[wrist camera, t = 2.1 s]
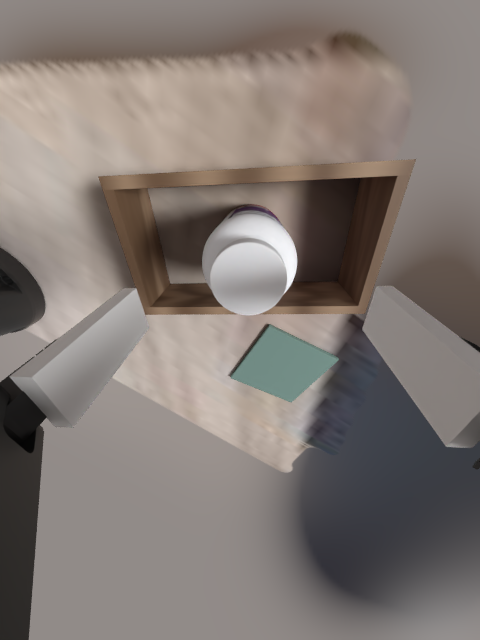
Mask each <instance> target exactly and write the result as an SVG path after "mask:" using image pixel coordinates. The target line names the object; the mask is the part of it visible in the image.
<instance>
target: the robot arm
mask: <svg viewBox="0 0 480 640" xmlns="http://www.w3.org/2000/svg"><path fill="white" fill-rule="evenodd" d="M44 312H45V300H44V296H43V293H42V291H41V289H40V287H39V285H38V284H37V282H36V281H35V279H34V278H33V276H32V275H31V274H30V273H29V272H28V271H27V269H26V268H25V267H24V266H23V265H22V264H21V263H19V262H18V261H17V260H16V259H15V258H14V257H12V256H11V255H10V254H8V253H7V252H5V251H4V250H2V249H1V248H0V336H1V335H4V334H7V333H12V332H17V331H21V330H23V329H26V328H28V327H29V326H31V325H32V324H34V323H36V322H37V321H39V320H40V319H41V318H42V316H43V314H44ZM148 329H149V325H148V322H147V319H146V316H145V313H144V310H143V307H142V304H141V301H140V298H139V295H138V292H137V289H136V288H123V289H122V290H121V291H119V292H118V293H117V294H115V295H114V296H113V297H112V298H110V299H109V300H108V301H106V302H105V303H104V304H102V305H101V306H100V307H99V308H97V309H96V310H95V311H93V312H92V313H91V314H90V315H88V316H87V317H86V318H84V319H83V320H82V321H81V322H79V323H78V324H77V325H75V326H74V327H73V328H71V329H70V330H69V331H68V332H66V333H65V334H64V335H62V336H61V337H60V338H58V339H56V340H55V341H53V342H52V343H51V344H49V345H48V346H47V347H46V348H45V349H44V350H42V351H40V352H39V353H38V354H36V356H35V357H32V358H31V359H30V360H29V361H27V362H26V363H25V364H23V365H22V366H21V367H19V368H18V369H17V370H16V371H14V372H13V373H12V374H10V375H9V376H8V377H6V378H5V379H4V380H2V381H1V382H0V640H28V639H29V627H30V612H31V599H32V586H33V571H34V559H35V545H36V532H37V518H38V505H39V491H40V477H41V464H42V450H43V436H44V431H43V428H42V427H41V426H40V424H41V423H42V422H43V421H44V419H45V418H46V417H47V419H49V421H50V422H51V423H52V424H53V425H54V426H55V427H71V428H74V426H75V425H76V424H77V422H78V421H79V420H80V419H81V417H82V416H83V415H84V413H85V412H86V411H87V409H88V408H89V406H90V405H91V404H92V402H93V401H94V400H95V399H96V397H97V396H98V395H99V393H100V392H101V391H102V389H103V388H104V387H105V385H106V384H107V383H108V381H109V380H110V379H111V378H112V376H113V375H114V374H115V372H116V371H117V370H118V368H119V367H120V366H121V364H122V363H123V362H124V360H125V359H126V358H127V356H128V355H129V354H130V353H131V351H132V350H133V349H134V347H135V346H136V345H137V343H138V342H139V341H140V339H141V338H142V337H143V335H144V334H145V333H146V331H147V330H148ZM362 330H363V331H364V332H365V334H366V335H367V337H368V338H369V339H370V341H371V342H372V344H373V345H374V346H375V348H376V349H377V351H378V352H379V353H380V355H381V356H382V358H383V359H384V360H385V362H386V363H387V364H388V366H389V367H390V369H391V370H392V372H393V373H394V374H395V375H396V377H397V379H398V380H399V381H400V383H401V384H402V386H403V387H404V388H405V390H406V391H407V392H408V394H409V395H410V397H411V398H412V399H413V401H414V402H415V404H416V405H417V406H418V408H419V409H420V411H421V412H422V413H423V415H424V416H425V418H426V419H427V420H428V422H429V423H430V425H431V426H432V427H433V429H434V430H435V432H436V433H437V434H438V436H439V437H440V438H441V440H442V441H443V443H444V444H445V446H446V447H463V448H464V447H465V448H472V447H473V446H474V445H476V444H477V443H478V442H479V441H480V347H478V346H477V345H475V344H474V343H472V342H469V341H467V340H465V339H463V338H461V337H459V336H457V335H456V334H455V333H453V332H452V331H451V330H449V329H448V328H447V327H445V326H444V325H443V324H441V323H440V322H439V321H438V320H436V319H435V318H434V317H432V316H431V315H430V314H428V313H427V312H426V311H424V310H423V309H422V308H420V307H419V306H418V305H416V304H415V303H414V302H413V301H411V300H410V299H408V298H407V297H406V296H405V295H403V294H402V293H401V292H399V291H398V290H397V289H395V288H394V287H393V286H377V287H376V290H375V293H374V296H373V299H372V302H371V305H370V308H369V311H368V314H367V317H366V320H365V323H364V326H363V329H362ZM473 468H475V469H479V468H480V458H479V459H478V460H477V461H476V462H475V463H474V465H473Z"/></svg>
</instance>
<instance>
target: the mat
mask: <svg viewBox="0 0 480 640" xmlns="http://www.w3.org/2000/svg"><path fill="white" fill-rule="evenodd" d="M338 360H339V359H338V357H336V356H334V355H332V354H330V353H328V352H326V351H324V350H322V349H320V348H318V347H316V346H314V345H312V344H309V343H307V342H305V341H303V340H301V339H299V338H297V337H295V336H293V335H291V334H289V333H287V332H285V331H283V330H281V329H278V328H276V327H274V326H272V325H270V324H269V325H268V327H267V328H266V329H265V331H264V332H263V333H262V335H261V336H260V337H259V339H258V340H257V341H256V343H255V344H254V345H253V347H252V348H251V349H250V351H249V352H248V353H247V355H246V356H245V357H244V359H243V360H242V362H241V363H240V364H239V366H238V367H237V368H236V370H235V371H234V372H233V374H232V375H231V378H232V379H234V380H237V381H239V382H242V383H244V384H247V385H249V386H252V387H254V388H257V389H259V390H262V391H264V392H267V393H269V394H272V395H274V396H277V397H279V398H281V399H284V400H286V401H289V402H292V401H293V400H295V399H296V398H297V397H298V396H299V395H300V394H301V393H302V392H303V391H305V390H306V389H307V388H308V387H309V386H310V385H311V384H312V383H313V382H315V381H316V380H317V379H318V378H319V377H320V376H321V375H322V374H323V373H325V372H326V371H327V370H328V369H329V368H330V367H331V366H332V365H333V364H335V363H336V362H337V361H338Z"/></svg>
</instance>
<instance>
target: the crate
mask: <svg viewBox="0 0 480 640" xmlns="http://www.w3.org/2000/svg"><path fill="white" fill-rule="evenodd" d="M415 161H416V159H414V160H395V161H376V162H358V163H340V164H321V165H303V166H285V167H266V168H248V169H230V170H211V171H193V172H174V173H156V174H138V175H119V176H101V177H99V180H100V183H101V186H102V189H103V192H104V195H105V198H106V201H107V204H108V207H109V210H110V213H111V216H112V219H113V222H114V225H115V228H116V231H117V234H118V237H119V240H120V243H121V246H122V249H123V252H124V255H125V258H126V261H127V264H128V266H129V269H130V272H131V275H132V278H133V281H134V284H135V287H136V289H137V292H138V295H139V298H140V301H141V304H142V307H143V310H144V313H145V315H157V314H236V313H234V312H231V311H229V310H227V309H226V308H224V307H223V306H222V305H221V304H220V303H219V302H218V301H217V299H216V298H215V296H214V295H213V292H212V290H211V289H210V287H209V286H208V284H207V283H204V284H170V281H169V277H168V273H167V269H166V265H165V260H164V256H163V252H162V248H161V244H160V239H159V235H158V231H157V227H156V223H155V218H154V214H153V210H152V206H151V202H150V197H149V193H148V189H147V188H161V187H182V186H202V185H222V184H242V183H263V182H283V181H303V180H323V179H344V178H361V180H360V184H359V189H358V193H357V198H356V202H355V206H354V211H353V215H352V220H351V224H350V229H349V233H348V238H347V242H346V246H345V251H344V255H343V260H342V264H341V269H340V273H339V278H338V282H292V284H291V286H290V287H289V289H288V290H287V291H286V292H285V294H284V295H283V296H282V298H281V299H280V301H279V302H278V303H277V304H276V305H275V306H274V307H272V308H271V309H269V310H268V311H266V312H263V313H260V314H365V312H366V309H367V306H368V303H369V300H370V297H371V294H372V291H373V288H374V285H375V282H376V279H377V276H378V273H379V269H380V267H381V264H382V261H383V258H384V255H385V252H386V249H387V245H388V243H389V239H390V237H391V234H392V230H393V227H394V224H395V221H396V218H397V215H398V212H399V209H400V206H401V203H402V200H403V197H404V194H405V191H406V188H407V185H408V182H409V179H410V176H411V173H412V170H413V167H414V164H415Z"/></svg>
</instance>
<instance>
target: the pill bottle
mask: <svg viewBox="0 0 480 640" xmlns="http://www.w3.org/2000/svg"><path fill="white" fill-rule="evenodd" d="M202 268H203V273H204V277H205V280H206V282H207V284H208V286H209V287H210V289H211V290H212V292H213V295H214V296H215V298H216V299H217V301H218V302H219V303H220V304H221V305H222V306H223V307H224V308H226V309H227V310H229V311H231V312H234V313H236V314H240V315H257V314H260V313H263V312H266V311H268V310H269V309H271V308H272V307H274V306H275V305H276V304H277V303H278V302H279V301H280V299H281V298H282V296H283V295H284V294H285V292H286V291H287V290H288V289H289V287H290V286H291V284H292V282H293V280H294V277H295V274H296V269H297V253H296V249H295V245H294V243H293V240H292V239H291V237H290V235H289V234H288V232H287V231H286V230H285V228H284V227H283V226H282V224H281V223H280V221H279V220H278V218H277V217H276V216H275V215H274V214H273V213H272V212H271V211H270V210H268V209H267V208H265V207H263V206H260V205H254V204H249V205H243V206H240V207H238V208H236V209H234V210H233V211H231V212H230V213H229V214H228V215H227V216H226V217H225V218H224V220H223V221H222V222H221V223H220V224H219V225H218V226H217V227H216V229H215V230H214V231H213V232H212V233H211V235H210V236H209V238H208V240H207V242H206V244H205V247H204V250H203V256H202Z"/></svg>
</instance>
